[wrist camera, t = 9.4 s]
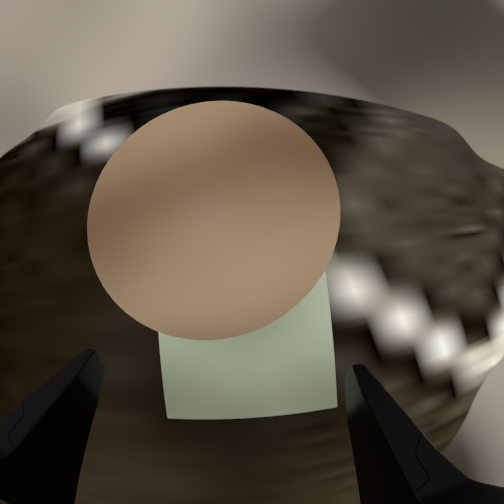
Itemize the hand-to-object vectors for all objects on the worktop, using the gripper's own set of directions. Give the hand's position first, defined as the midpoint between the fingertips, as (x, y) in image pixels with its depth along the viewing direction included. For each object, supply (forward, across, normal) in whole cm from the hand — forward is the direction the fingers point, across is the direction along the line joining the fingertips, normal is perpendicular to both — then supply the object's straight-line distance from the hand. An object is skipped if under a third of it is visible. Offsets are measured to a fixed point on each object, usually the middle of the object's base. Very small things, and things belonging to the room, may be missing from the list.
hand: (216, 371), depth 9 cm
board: (+12, 0, +4) cm, 12 cm away
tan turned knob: (+11, 0, +4) cm, 11 cm away
